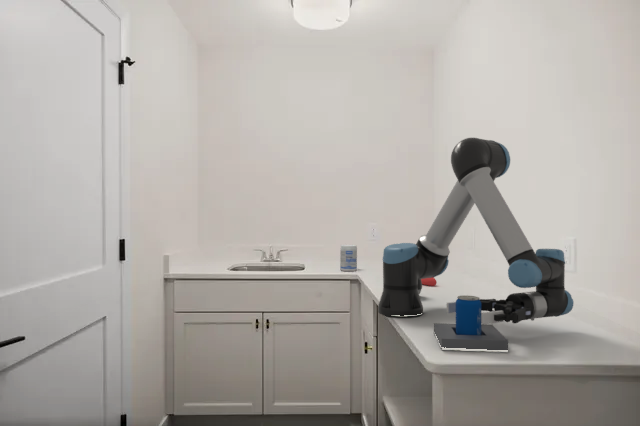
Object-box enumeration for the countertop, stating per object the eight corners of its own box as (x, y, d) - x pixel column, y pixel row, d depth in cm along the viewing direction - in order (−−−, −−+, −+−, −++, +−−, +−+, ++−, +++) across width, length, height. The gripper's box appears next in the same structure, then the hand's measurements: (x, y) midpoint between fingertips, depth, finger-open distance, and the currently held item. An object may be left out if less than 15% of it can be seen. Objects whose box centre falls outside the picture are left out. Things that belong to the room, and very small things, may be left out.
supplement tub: (347, 272, 262) (347, 246, 262) (337, 270, 270) (336, 245, 270) (360, 270, 268) (360, 245, 268) (349, 269, 276) (349, 244, 276)
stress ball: (424, 289, 212) (431, 278, 211) (415, 280, 220) (421, 268, 219) (432, 292, 215) (439, 281, 213) (423, 283, 223) (430, 272, 221)
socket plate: (433, 333, 132) (433, 323, 132) (492, 335, 130) (492, 324, 130) (441, 350, 116) (441, 338, 116) (508, 352, 114) (508, 340, 114)
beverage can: (473, 347, 119) (472, 300, 119) (450, 342, 124) (450, 297, 124) (486, 342, 123) (486, 297, 123) (464, 337, 128) (464, 294, 128)
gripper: (563, 329, 119) (499, 339, 111) (492, 310, 142) (435, 317, 134) (563, 300, 119) (499, 307, 111) (492, 286, 142) (434, 291, 134)
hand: (463, 312), depth 123 cm, fingers open, 13 cm apart
